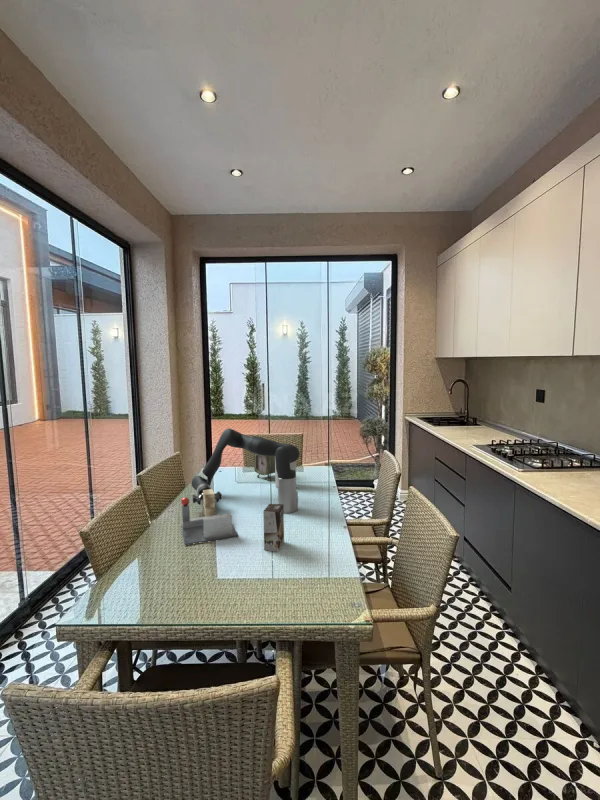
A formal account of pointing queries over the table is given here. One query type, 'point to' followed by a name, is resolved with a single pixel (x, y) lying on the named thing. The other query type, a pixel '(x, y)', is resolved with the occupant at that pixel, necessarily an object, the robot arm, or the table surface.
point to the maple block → (208, 502)
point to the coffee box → (273, 527)
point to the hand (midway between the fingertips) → (208, 501)
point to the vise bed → (198, 535)
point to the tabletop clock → (264, 465)
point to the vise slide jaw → (186, 517)
